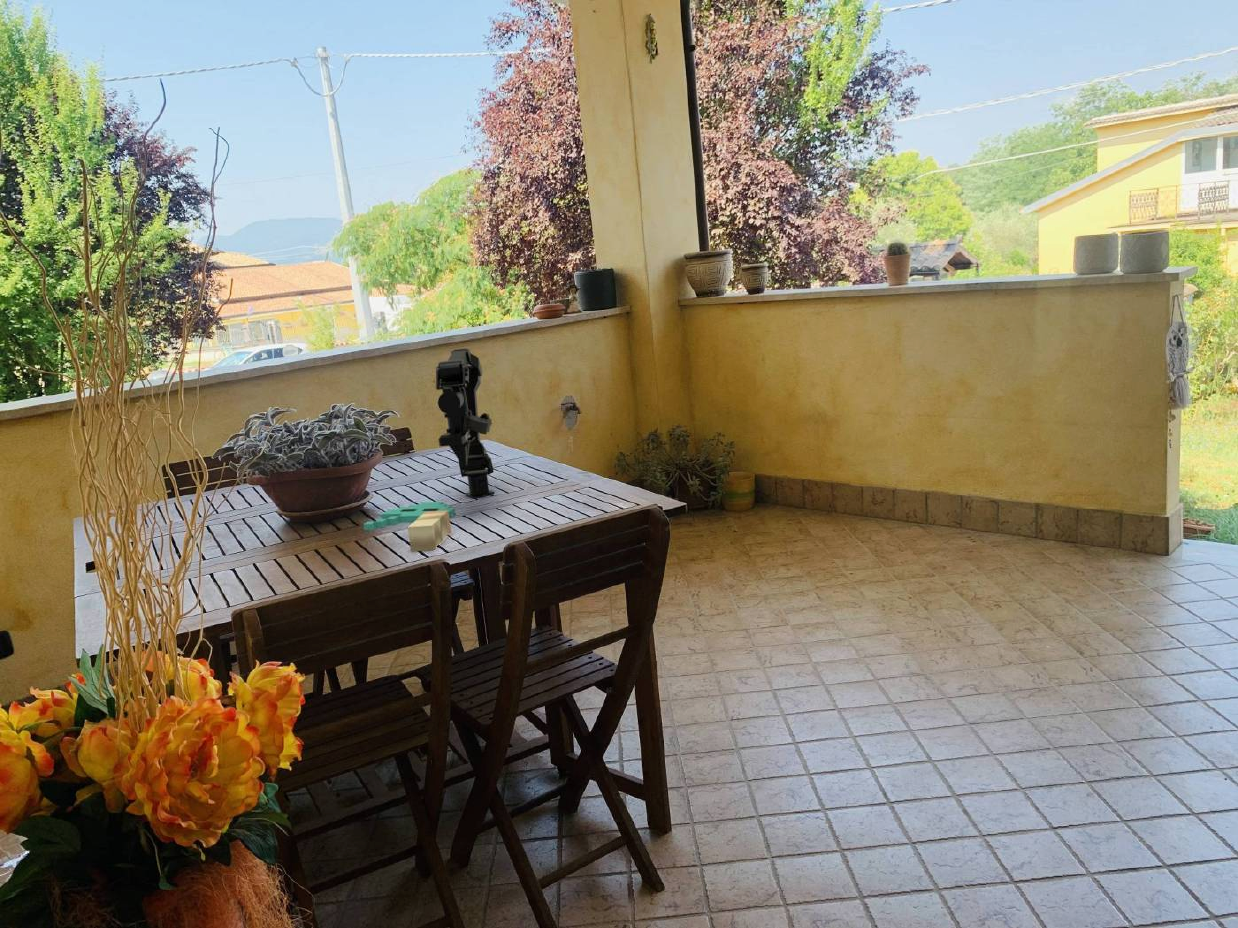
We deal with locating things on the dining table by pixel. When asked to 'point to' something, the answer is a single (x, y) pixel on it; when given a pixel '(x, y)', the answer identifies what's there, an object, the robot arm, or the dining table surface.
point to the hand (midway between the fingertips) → (464, 465)
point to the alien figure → (408, 514)
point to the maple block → (429, 530)
